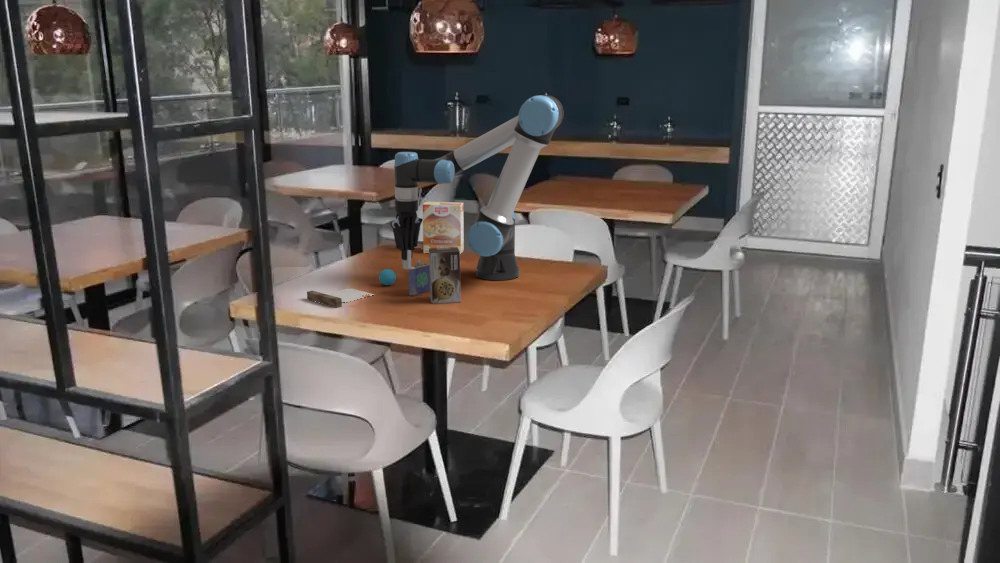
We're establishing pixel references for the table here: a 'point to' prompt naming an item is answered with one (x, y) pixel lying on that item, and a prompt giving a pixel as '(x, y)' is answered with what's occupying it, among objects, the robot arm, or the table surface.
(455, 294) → the cookie box
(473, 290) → the table surface
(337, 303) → the strip
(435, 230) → the coffeecake box
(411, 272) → the flask
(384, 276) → the ball
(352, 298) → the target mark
